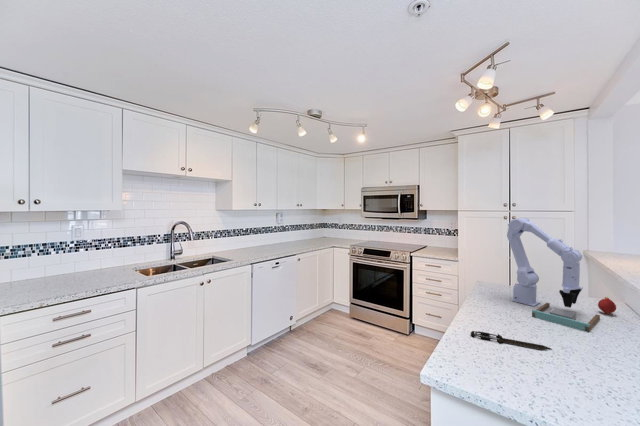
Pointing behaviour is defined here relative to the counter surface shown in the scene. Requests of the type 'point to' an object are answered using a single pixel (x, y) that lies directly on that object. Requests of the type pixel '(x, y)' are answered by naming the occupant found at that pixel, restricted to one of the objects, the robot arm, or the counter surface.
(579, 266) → the robot arm
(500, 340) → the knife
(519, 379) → the counter surface
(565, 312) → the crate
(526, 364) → the counter surface
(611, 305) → the red rounded lump
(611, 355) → the counter surface
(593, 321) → the bay
